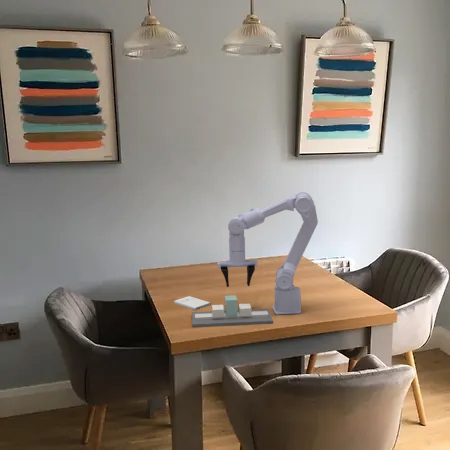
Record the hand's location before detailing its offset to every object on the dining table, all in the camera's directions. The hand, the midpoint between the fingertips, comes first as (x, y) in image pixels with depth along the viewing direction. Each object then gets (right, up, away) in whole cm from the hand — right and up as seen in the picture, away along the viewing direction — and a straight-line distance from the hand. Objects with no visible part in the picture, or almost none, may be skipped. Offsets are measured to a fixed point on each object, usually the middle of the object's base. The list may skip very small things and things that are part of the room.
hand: (238, 285), depth 198 cm
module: (-3, -9, -7) cm, 12 cm away
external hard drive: (-17, -9, +10) cm, 22 cm away
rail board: (-2, -11, -7) cm, 13 cm away
